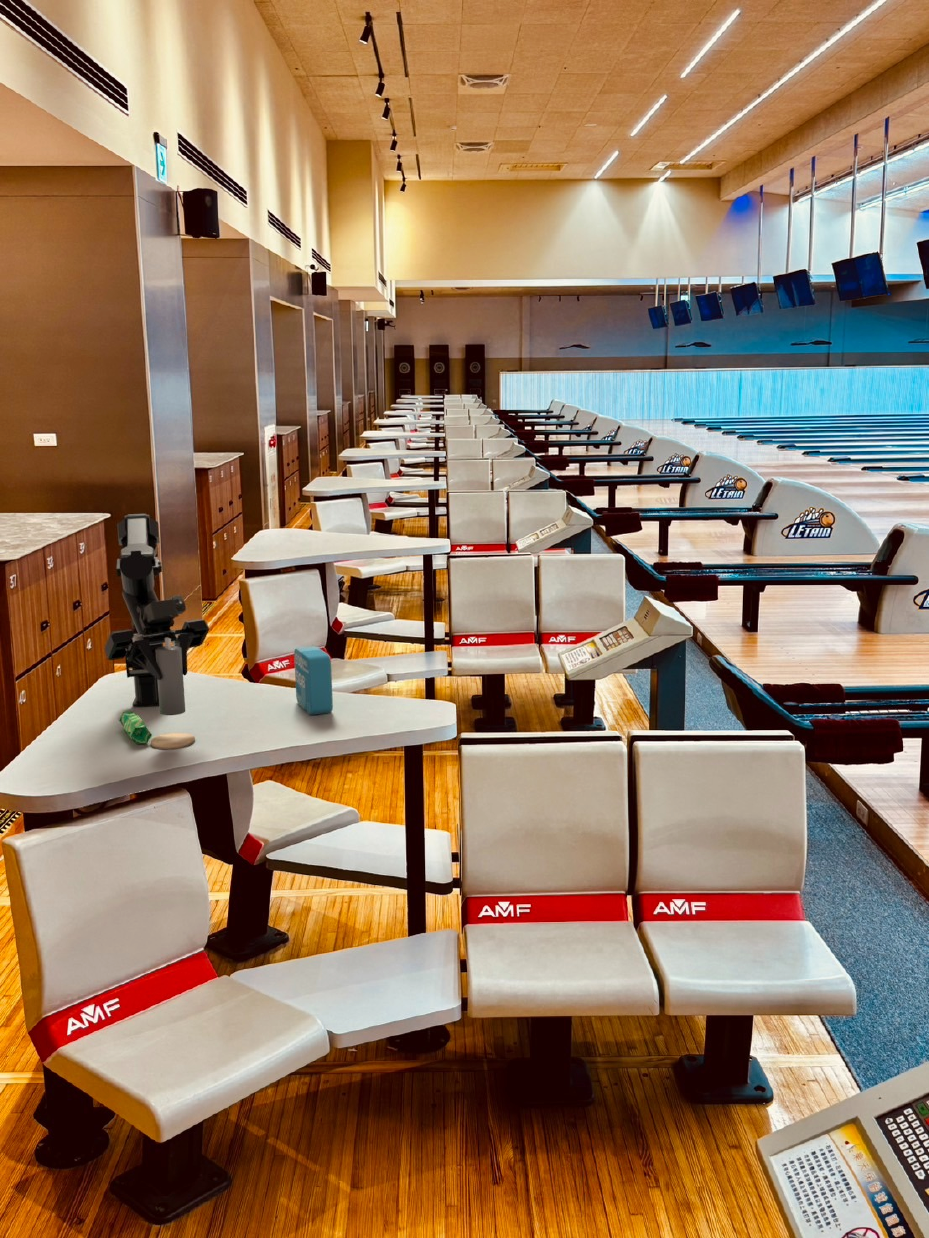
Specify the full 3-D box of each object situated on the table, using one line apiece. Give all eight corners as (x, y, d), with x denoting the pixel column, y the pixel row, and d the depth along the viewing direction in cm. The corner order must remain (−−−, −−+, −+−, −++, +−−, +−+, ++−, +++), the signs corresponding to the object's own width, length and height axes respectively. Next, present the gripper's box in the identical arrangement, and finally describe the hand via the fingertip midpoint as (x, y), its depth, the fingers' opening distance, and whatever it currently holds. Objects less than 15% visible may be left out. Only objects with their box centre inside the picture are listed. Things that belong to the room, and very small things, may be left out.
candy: (116, 725, 219) (126, 706, 220) (132, 732, 221) (142, 713, 221) (127, 742, 209) (138, 722, 209) (144, 749, 211) (154, 729, 211)
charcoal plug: (155, 711, 211) (150, 638, 208) (179, 707, 213) (174, 634, 211) (166, 716, 207) (161, 642, 204) (189, 712, 210) (184, 638, 207)
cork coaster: (152, 737, 214) (152, 734, 214) (196, 734, 216) (196, 731, 216) (148, 750, 207) (148, 747, 207) (193, 747, 208) (193, 744, 208)
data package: (296, 702, 238) (293, 646, 235) (317, 699, 239) (314, 644, 237) (311, 716, 227) (309, 658, 224) (333, 714, 229) (331, 656, 226)
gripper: (105, 588, 203) (134, 659, 197) (202, 577, 214) (232, 643, 208) (93, 624, 211) (120, 694, 204) (186, 611, 222) (215, 677, 216)
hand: (173, 676), depth 208 cm, fingers closed on charcoal plug, 5 cm apart
